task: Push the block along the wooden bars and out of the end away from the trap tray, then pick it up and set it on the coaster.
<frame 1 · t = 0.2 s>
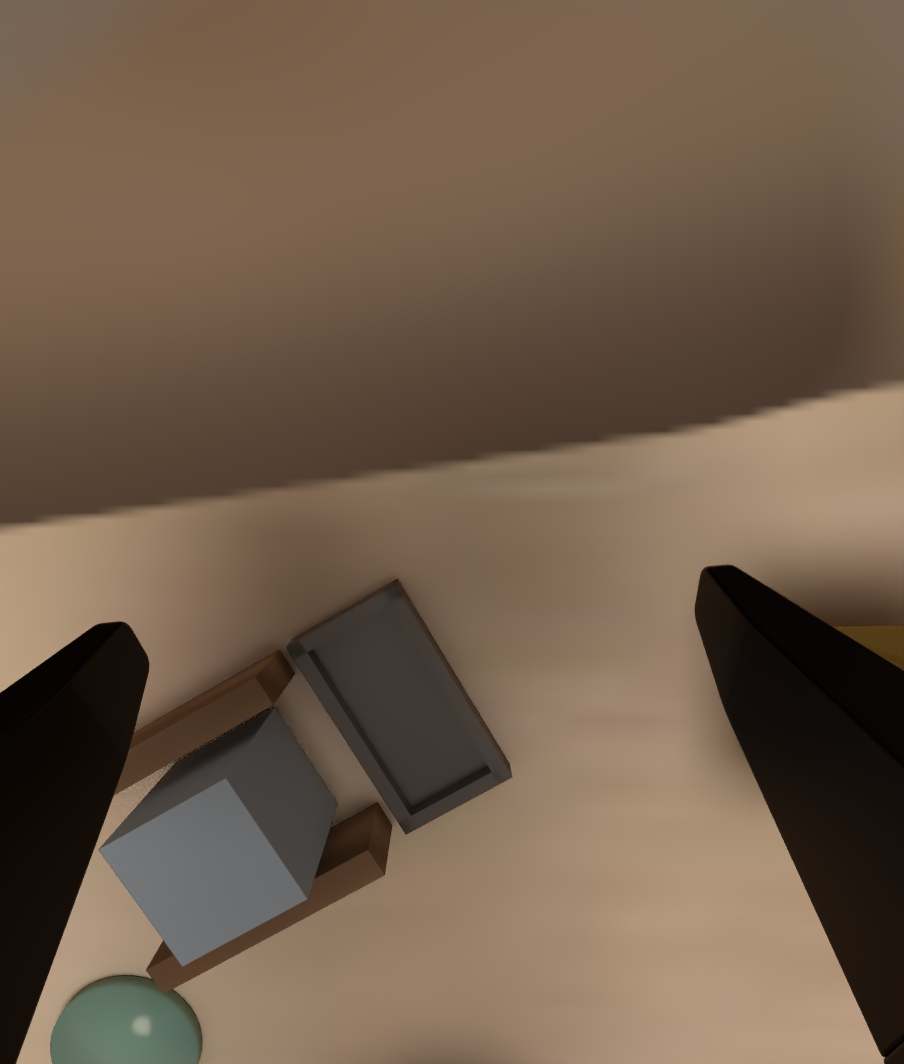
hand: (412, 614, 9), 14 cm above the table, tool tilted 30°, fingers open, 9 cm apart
block: (257, 782, 25), on the table
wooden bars: (236, 795, 25), on the table
coaster: (130, 1039, 27), on the table
flower pot: (831, 686, 25), on the table
trap tray: (402, 702, 25), on the table
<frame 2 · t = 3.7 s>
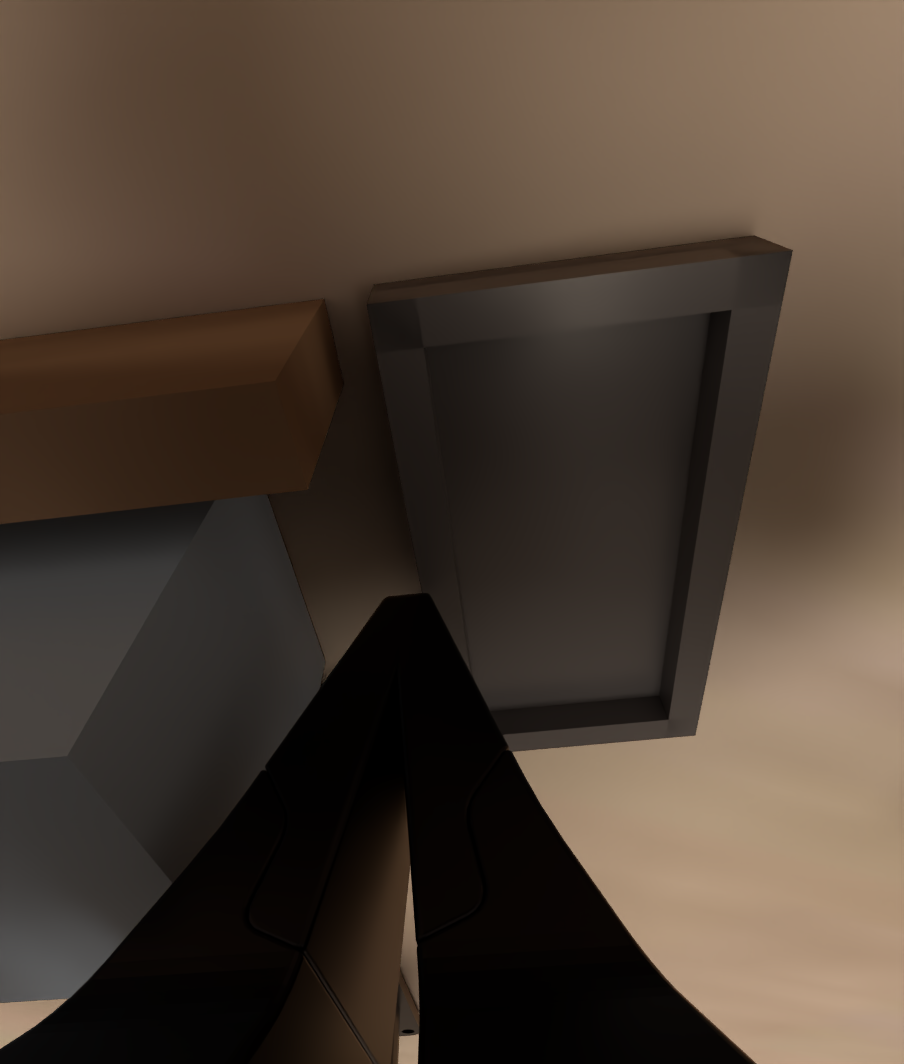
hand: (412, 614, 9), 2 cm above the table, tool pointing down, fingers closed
block: (157, 580, 11), on the table, touching gripper
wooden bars: (114, 587, 11), on the table
trap tray: (563, 540, 10), on the table
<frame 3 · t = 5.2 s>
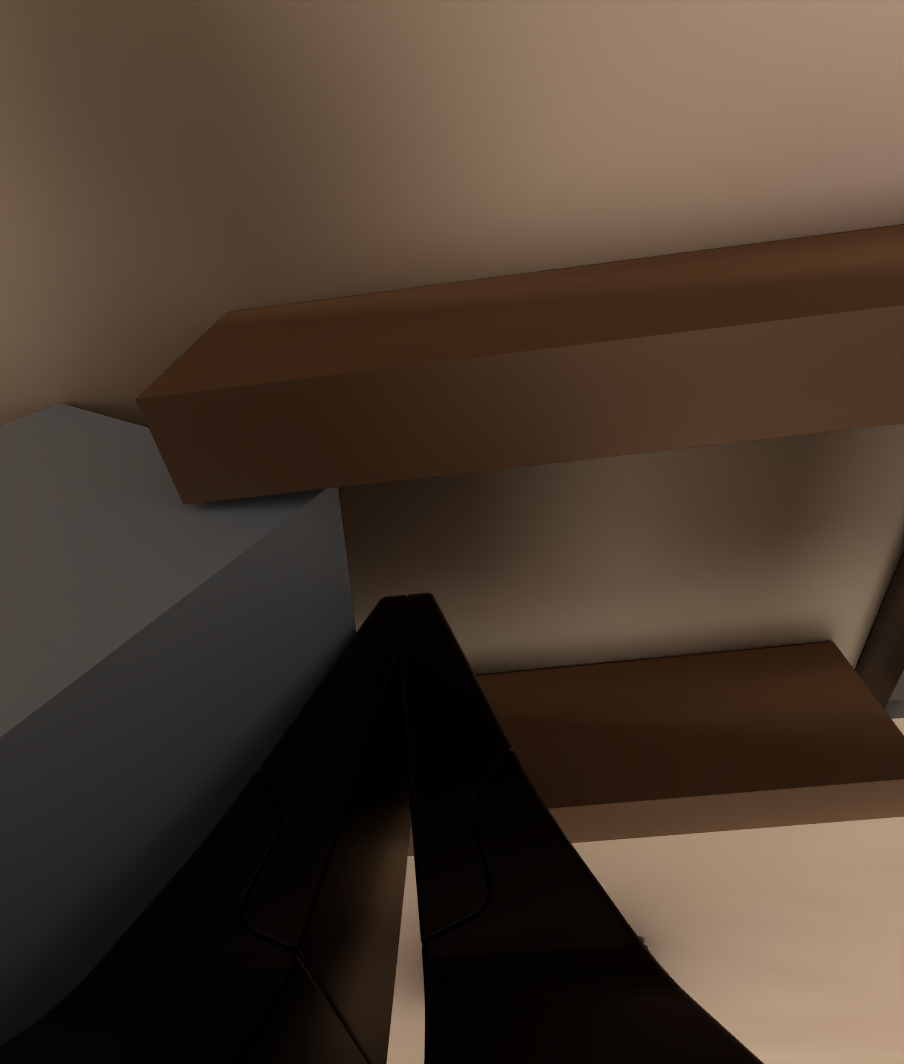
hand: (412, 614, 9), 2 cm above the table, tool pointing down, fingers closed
block: (223, 581, 9), point 1 cm above the table, tilted 28°, touching gripper
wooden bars: (589, 538, 10), on the table
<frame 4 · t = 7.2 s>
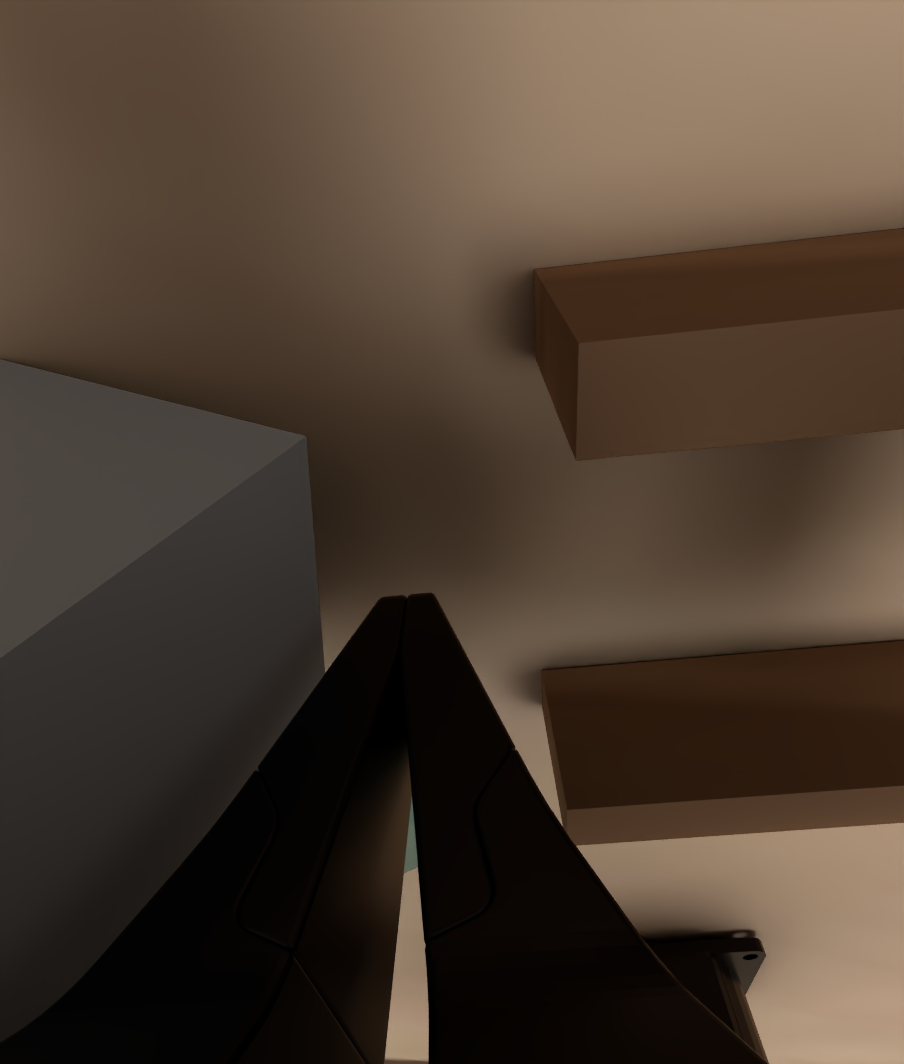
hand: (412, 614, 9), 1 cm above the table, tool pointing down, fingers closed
block: (176, 547, 9), point 1 cm above the table, tilted 22°, touching gripper
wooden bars: (831, 516, 10), on the table
coaster: (325, 800, 15), on the table
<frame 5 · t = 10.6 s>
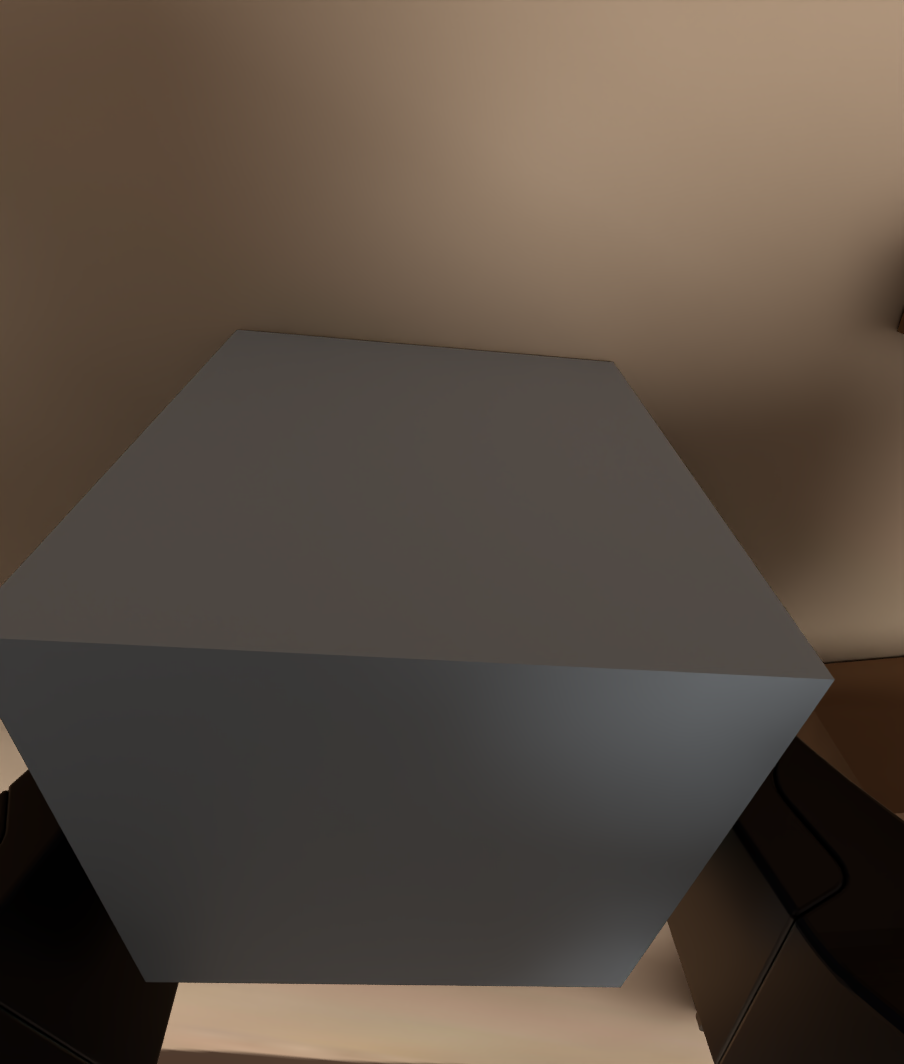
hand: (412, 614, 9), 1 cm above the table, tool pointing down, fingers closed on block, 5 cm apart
block: (418, 504, 9), on the table, touching gripper
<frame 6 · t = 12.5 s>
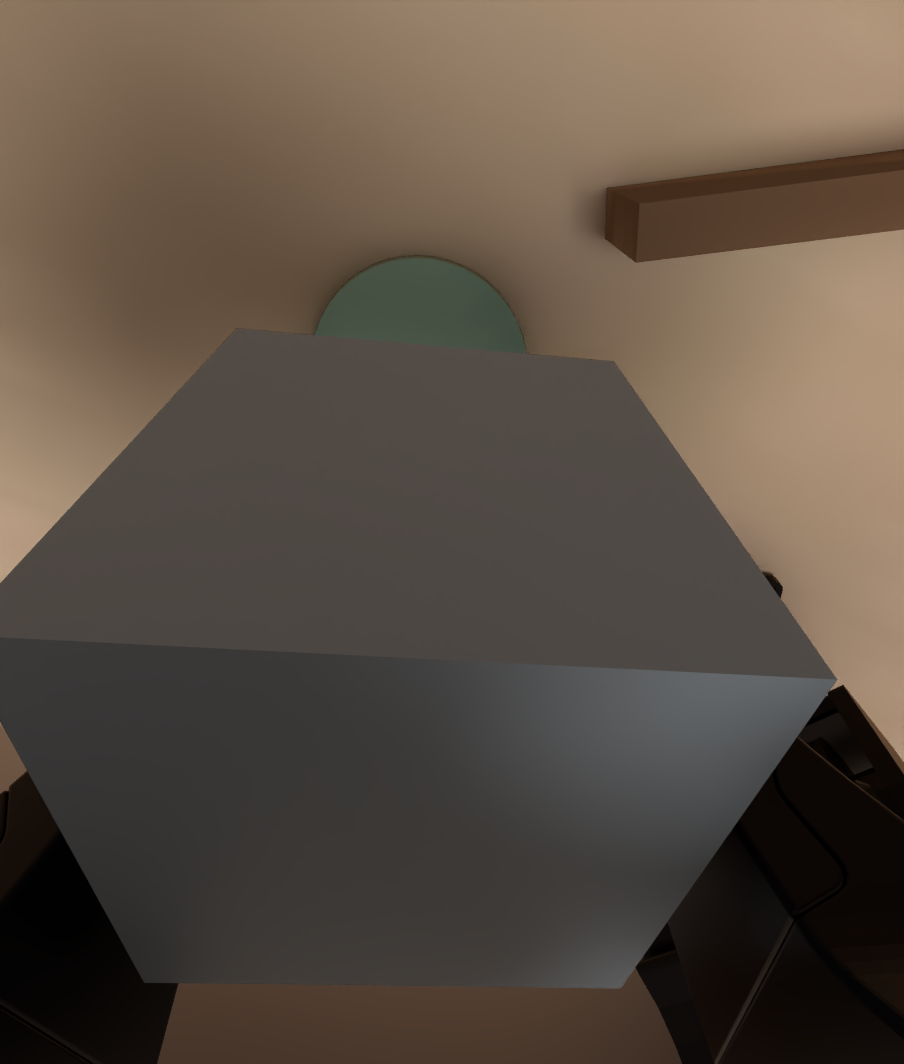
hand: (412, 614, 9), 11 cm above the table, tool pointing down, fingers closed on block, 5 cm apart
block: (417, 503, 9), point 10 cm above the table, touching gripper
coaster: (420, 368, 18), on the table
when the fingers open (3 cm above the table, at t = 14.4 s): block drops 1 cm, resting on coaster.
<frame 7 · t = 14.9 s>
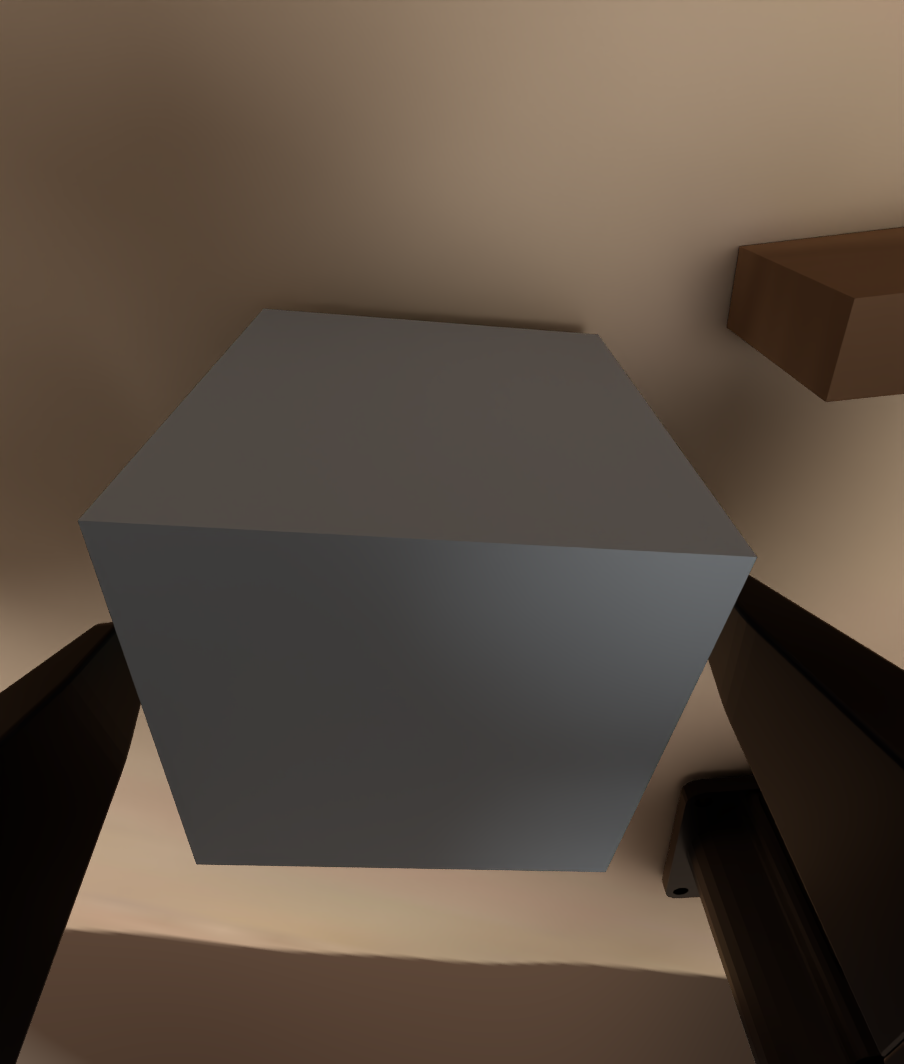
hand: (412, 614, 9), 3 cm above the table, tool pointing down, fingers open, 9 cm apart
block: (424, 468, 10), point 1 cm above the table, touching coaster
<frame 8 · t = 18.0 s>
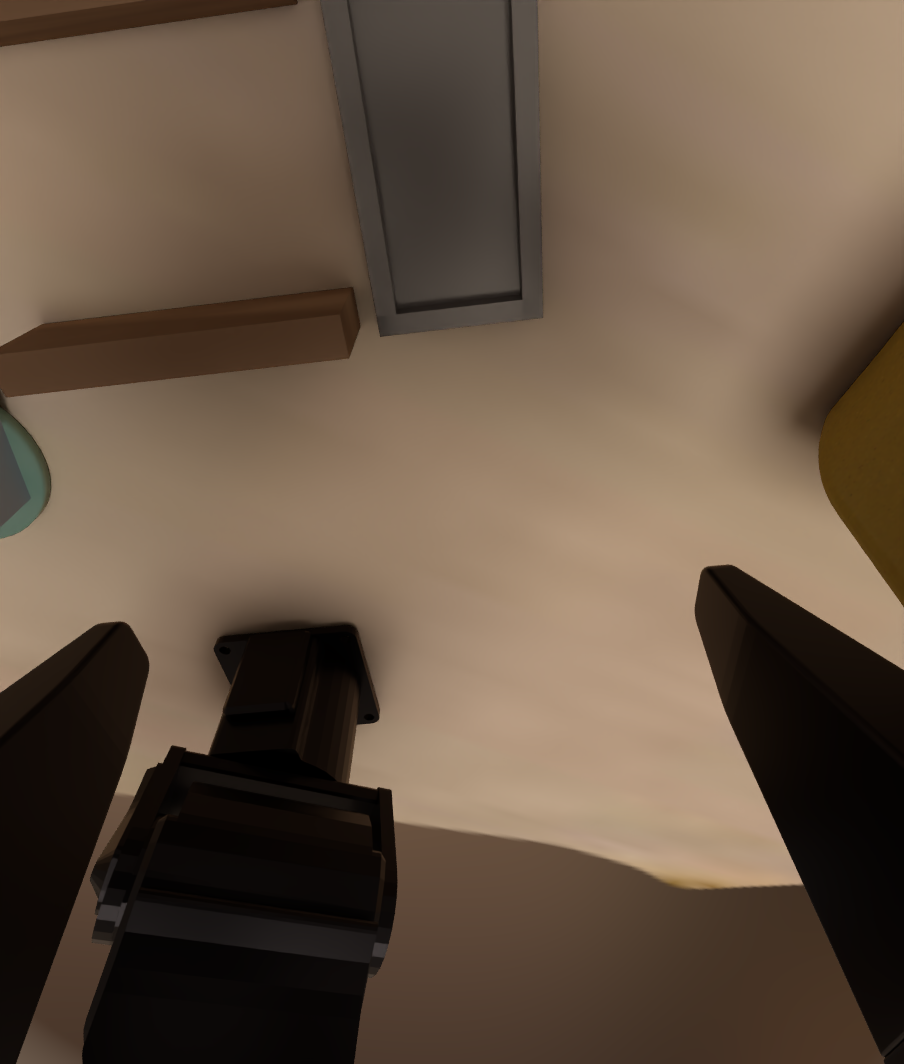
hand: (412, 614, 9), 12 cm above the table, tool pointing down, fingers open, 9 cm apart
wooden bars: (153, 184, 17), on the table
trap tray: (443, 147, 16), on the table
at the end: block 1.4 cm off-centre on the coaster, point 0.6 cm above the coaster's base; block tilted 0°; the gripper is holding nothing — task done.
